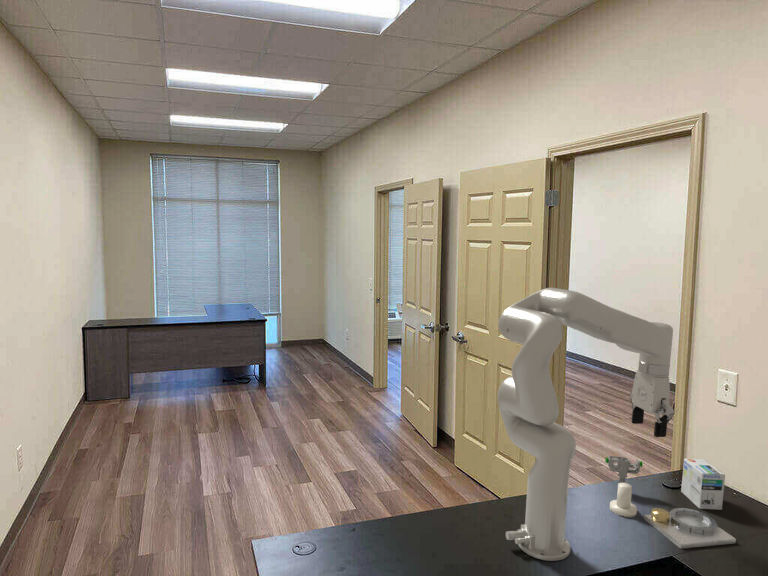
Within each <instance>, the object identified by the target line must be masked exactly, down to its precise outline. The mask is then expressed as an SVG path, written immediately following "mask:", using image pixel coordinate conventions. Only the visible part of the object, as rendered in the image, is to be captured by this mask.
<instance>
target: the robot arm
mask: <svg viewBox="0 0 768 576" xmlns="http://www.w3.org/2000/svg"><path fill="white" fill-rule="evenodd" d="M499 316H500V317H499V318H498V330H499V332H500V334H501V335H502V337H503V338H505V339H507V340H508V341H510V342H514V343H518V344H521V345H522V346H521V348H520V349H519V351H518V353H517V354H516V356H515V358H514V359H513V362H512V364H511V375H510V376H508V377H507V378H505V379H504V380H503V381H502V382H501V384H500V385H499V388H498V391H497V405H498V409H499V412H500V415H501V418H502V421H503V423H504V424H503V425H504V427H505V431H506V433H507V435H508V438H509V440H510V441H511V443H512V444H513V445H515V446H516V447H518V448H519V449H520V450H522V451H524V452H526V453H528V454H530V455H531V456H533V457H535V462H534V464H533V465H532V466H531V468H530V469H529V471H528V474H527V483H526V485H527V487H526V501H525V504H526V505H525V517H524V524H520V528H518V529H517V530H509V531H508V530H507V531H505V538H506V540H507V541H511V540H514V543H515V545H518V547H519V548H520V550H521V551H523V552H524V553H526V554H527V555H528V556H531V557H533V558H535V559H539V560H542V561H547V562H549V561H550V562H555V561H561V560H564V559H566V558H567V557H569V556H570V554H571V545H570V544H571V543H570V542H569V541H568V540H567V539H566V538H565V537H566V536H565V535H566V533H565V532H566V521H567V519H566V518H567V507H568V494H569V491H568V490H569V482H570V481H569V480H570V471H571V467H572V463H573V459H574V457H575V453H576V452H575V451H576V449H577V448H576V445H577V444H576V440H575V437H574V435H573V434H572V432H571V431H569V430H568V429H567V428H566V427H564V426H563V425H562V424H559V423H557V422H556V421H557V420H558V417H559V415H560V414H559V413H560V409H559V402H558V398H557V394H556V391H555V388H554V383H553V380H552V377H551V373H550V362H551V360H552V357H553V355H554V353H555V351H556V349H557V348H558V347H559V345H560V343H561V341H562V338H563V334H564V333H563V332H564V331H563V330H564V327H563V326H567V327H569V328H571V329H573V330H576V331H579V332H581V333H583V334H585V335H588V336H590V337H592V338H594V339H597V340H601V341H603V342H606V343H607V342H608V343H611V344H615V345H616V346H617V347H618V348H620V349H622V350H623V351H628V352H633V353H637V354H639V357H638V358H639V359H638V368H637V370H636V373H635V375H634V379H633V384H632V389H631V390H629V396H630V402H631V409H632V414H631V423H632V424H633V425H637V424H639V425H640V424H641V425H642V424H643V423H644V416H645V415H644V414H645V412H646V413H647V414H648V413H649V414H654V417H655V420H656V421H655V422H654V429H653V436H654V437H655V438H665V437H667V432H668V431H667V430H668V424H669V423H670V421H671V420H672V418H673V417H674V416H673V415H674V414H675V409H674V408H673V407H672V405H671V404H670V398H671V397H670V396H671V391H670V390H671V389H670V387H671V385H670V371H671V370H670V368H671V367H670V366H671V359H672V358H671V356H672V349H673V348H672V347H673V336H674V328H673V327H672V326H671V325H670V324H668V323H664V322H654V321H652V322H651V321H648V320H646V319H643V318H640V317H637V316H634V315H632V314H630V313H627V312H624V311H623V310H620V309H616V308H614V307H611V306H610V305H606V304H605V303H602V302H600V301H598V300H596V299H594V298H591V297H590V296H588V295H585V294H584V293H581V292H578V291H575V290H570V289H563V288H562V289H561V288H557V287H546V288H543V289H540V290H537V291H536V292H534V293H531V294H530V295H527V296H526V297H524V298H522V299H520V300H519V301H516V302H515V303H513V304H511V305H510V306H509V307H507V308H506V309H504V310H503V312H502V313H501V315H499ZM661 415H662V416H661Z"/></svg>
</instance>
